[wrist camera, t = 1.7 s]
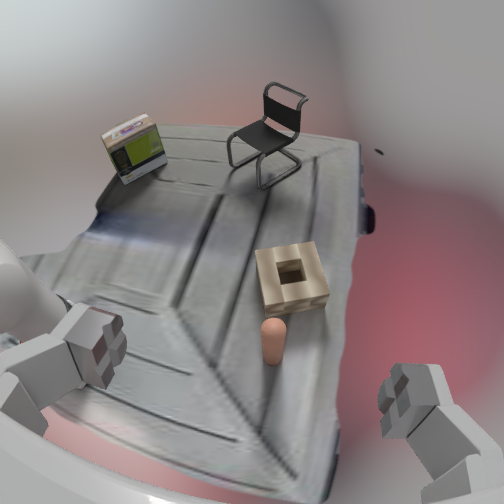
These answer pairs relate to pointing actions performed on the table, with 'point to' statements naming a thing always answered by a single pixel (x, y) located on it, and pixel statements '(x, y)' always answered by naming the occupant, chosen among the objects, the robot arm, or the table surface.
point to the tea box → (134, 147)
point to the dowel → (273, 340)
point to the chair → (270, 133)
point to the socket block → (291, 279)
